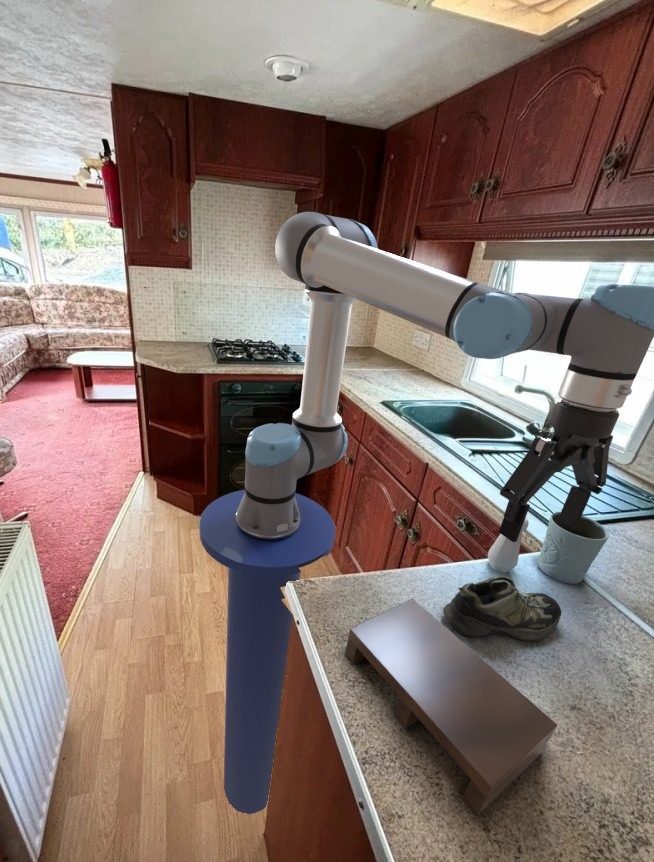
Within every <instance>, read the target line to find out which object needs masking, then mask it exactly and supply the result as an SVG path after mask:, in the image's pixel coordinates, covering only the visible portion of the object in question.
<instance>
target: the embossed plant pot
mask: <svg viewBox="0 0 654 862" xmlns="http://www.w3.org/2000/svg"><path fill="white" fill-rule="evenodd" d="M560 513H561V511H556V512H553V513H552V514H550V516H549V520H548V525H547V529H546V532H545V537H544V539H543V542H542V547H541V550H540V554H539V557H538V558H537V565H538V567H539V569H540V570H541V571H542V572H543V573H545V575H547V576H549V577H550V578H552V579H555V580H557V581H559V582H562V583H566V584H575V585H576V584H579V583H581V582H582V581H583V580H584V578H585V577H586V574H587V573H588V571H589V570H590V568H591V566H592V564H593V562H594V561H595V560H596V558H597V556H598V555H599V553H600V552H601V550H602V548H603V547H604V546H605V544H606V542H607V541H608V539H609V538H610V532H609V531H608V529H606V527H604V526H603V525H602V524H601V523H600V522H598V521H595V520H594V519H592V518H589V517H587V516H584V515H582V516H581V518H580V521H579V523H578V525H577V528H572V527H570V526H569V525H567V524H565V523H563V522H562V521H560V520H558V518H559V516H560Z"/></svg>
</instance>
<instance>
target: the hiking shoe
mask: <svg viewBox="0 0 654 862" xmlns="http://www.w3.org/2000/svg"><path fill="white" fill-rule="evenodd" d="M457 589H458V590H459V592H458V593H456V594H455V596H454V597H453V598H452V599H451V600H450V602H449V603H447V604H445V606H444V607H443V608H442V611H443V616H444V619H445V621H446V622H447V624H448V625H449V627H451V628H452V629H453V630H455V632H457V633H459V634H460V635H463V636H466V637H470V638H474V637H484V636H487V635H490V634H495V633H500V634H503V635H504V634H505V635H507V636H510V637H513V638H514V639H517V640H520V641H523V642H529V641H532V642H537V641H539V640H541V639H545V638H546V637H548V636H549V635H550V634H552V633H553V632H554V631H555V629H556V628H557V627H558V624H559V622H560V619H561V616H562V609H561V606H560V604H559V603H558V601H556V599H554V598H553V597H551V596H550V595H548V594H547V593H546V594H545V593H543V592H520V590H519V589H518V588H517V587H516V584H515V582H514V580H513V579H512V578H510V577H508V576H504V575H501V576H494V577H489V578H486V579H484V580H481V581H478V582H475V583H473V582H467V583H465V584H464V585H462V587H457Z"/></svg>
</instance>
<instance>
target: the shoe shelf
mask: <svg viewBox="0 0 654 862" xmlns="http://www.w3.org/2000/svg"><path fill="white" fill-rule="evenodd" d="M344 657H346V659H347V660H348V661H349V662H350V664H351V665H352V666H354V665H356V664H358V663H360V662H362V661H363V660H365V659H366V660H367V662H369V664H371V666H372V667H374V669H375V671H376V672H377V673H378V674H379V675H380V676H381V677H382V678H383V680H384V681H385V682H386V683H387V685H389V686H390V688H391V689H392V690H393V691H394V692H395V693H396V694H397V695H398V697H399V701H398V705H397V706H396V707H397V708H396V711H395V714H394V717H395V719H396V720H397V721H398V722H399V723H400V725H401V726H402V727H403V728H404V730H405V729H406V730H407V729H408V728H409V727H410V726H412V725H413V724H415V723H416V722H418V721H420V722H421V724H423V725H424V726H425V728H426V729H427V730H428V732H429V733H430V734H432V736H433V738H434V739H436V741H437V742H438V743H439V744H440V746H441V747H443V749H444V750H445V751H446V752H447V754H448V755H449V756H450V757H451V758H452V759H453V760H454V761H455V763H456V765H458V766H459V767H460V769H461V770H462V771H463V772H464V773H465V774H466V775H467V776H468V778H469V779H470V781H469V783H468V785H467V787H466V789H465V791H464V794H463V796H462V800H463V801H464V803H465V804H466V806H468V808H469V809H470V810H471V811H472V813H473V814H474V815H475V816H476V817H478V816H479V815H480V814H481V813H482V812H483V811H484V810H485V809H486V808H487V807H488V806H490V804H492V802H493V801H495V799H496V798H498V796H499V795H501V793H502V792H504V791H505V790H506V789H507V788H508V787H509V786H510V785H511V783H513V782H514V781H515V780H516V779H517V778H518V777H519V776H521V774H522V773H523V772H524V771H525V770H526V769H527V768H528V767H530V765H531V764H532V763H533V762H534V761H535V760H536V759H537V758H538V757H539V756H540V755H541V754H542V753H543V751H544V750H545V748H546V746H547V744H548V743H549V741H550V739H551V737H552V736H553V734H554V732H555V730H556V728H557V727H558V724H557V723H556V722H555V721H554V720H553V719H552V718H550V717H549V716H548V715H547V714H546V713H544V711H542V710H541V709H540V708H539V707H538V706H537V705H535V704H534V702H532V701H531V700H530V699H528V697H527V696H525V694H523V693H522V692H521V691H519V690H518V688H516V687H515V686H514V685H513V684H511V683H510V682H509V681H508V680H507V679H506V678H504V677H503V676H502V674H500V673H499V672H498V671H496V669H495V668H493V667H492V666H491V665H490V664H489V663H487V662H486V660H484V659H483V658H481V656H479V655H478V654H477V653H476V652H475V651H473V650H472V649H471V648H470V647H469V646H468V645H467V644H466V643H465V642H463V641H462V640H461V639H460V638H459V637H457V635H456V634H454V633H453V632H452V631H451V630H449V628H448V627H446V626H445V625H443V623H442V622H440V620H438V619H437V618H436V617H435V616H433V615H432V614H431V613H430V612H429V611H428V610H427V609H425V608H424V607H423V606H422V605H421V604H420V603H419V602H417V601H416V600H415V599H414V598H410V599H409V600H407V601H405V602H402V603H400V604H398V605H396V606H394V607H392V608H390V609H388V610H385V611H384V612H381V613H379V614H378V615H375V616H373V617H371V618H370V619H366V621H363V622H361V623H359V624H357V625H355V626H352V627H351V628H349V632H348V638H347V643H346V648H345V653H344Z"/></svg>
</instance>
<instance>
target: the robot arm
mask: <svg viewBox="0 0 654 862" xmlns="http://www.w3.org/2000/svg"><path fill="white" fill-rule="evenodd" d="M274 252H275V258H276V261H277V265H278V266H279V268H280V269H281V271H282V272H283V273H284V275H286V276H287V277H288V278H289V279H291V280H293V281H296V282H299V283H302V284H304V287H305V288H304V292H305V293H306V295H307V296H308V298H309V299H310V308H309V316H308V318H309V319H308V329H307V335H306V336H307V337H306V346H305V355H304V366H303V376H302V386H301V395H300V405H299V408H298V409H296V410H295V411H294V412H293V413H292V419H291V424H289V423H285V422H277V423H273V422H272V423H266V424H263V425H260V426H257V427H256V428H254V429H253V430H252V431H250V433H249V434H248V437H247V440H246V447H245V451H244V453H245V473H244V474H245V475H244V476H245V477H244V490H245V493H244V495H243V498H242V500H241V503H240V505H239V507H238V510H237V513H236V525H237V528H238V529H239V530H240V531H241V532H242V533H243V534H244V535H246V536H248V537H250V538H253V539H256V540H260V541H280V540H284V539H287V538H289V537H291V536H293V535H294V534H295V533H296V532H297V531H298V530H299V527H300V513H299V509H298V505H297V502H296V498H295V493H296V489H297V480H299V479H300V478H303V477H305V476H308V475H310V474H313V473H315V472H319V471H320V470H323V469H327V468H330V467H331V466H333V465H334V464H336V463H338V462H339V461H340V460H341V459H342V458H343V457H344V455H345V454H346V452H347V449H348V446H349V445H348V444H349V437H348V433H347V432H346V431H345V430H346V428H345V426H344V425H343V419H342V416H340V414H339V413H338V406H339V405H338V404H339V397H340V390H341V384H342V377H343V370H344V364H345V363H344V362H345V358H346V357H345V354H346V348H347V342H348V334H349V328H350V320H351V314H352V307H353V304H354V303H355V302H356V300H358V301H360V302H362V303H365V304H367V305H369V306H372V307H374V308H376V309H379V310H381V311H384V312H386V313H388V314H391V315H393V316H395V317H397V318H400V319H402V320H405V321H407V322H410V323H412V324H414V325H416V326H418V327H421V328H424V329H425V330H428V331H430V332H433V333H435V334H438V335H440V336H442V337H445V338H446V339H450V340H452V342H455V343H456V344H457V346H458V348H459V349H460V350H461V351H462V352H463V353H464V354H466V355H467V356H470V357H472V358H476V359H485V360H495V359H501V358H504V357H508V356H509V355H514V354H517V353H522V352H525V351H536V352H542V353H548V354H549V353H551V354H558V355H561V356H569V357H570V361H569V363H568V365H567V369H566V371H565V374H564V377H563V380H562V382H561V384H560V387H559V390H558V393H557V395H558V397H559V398H560V399H558V400H556V401H555V402H554V405H553V408H552V410H551V414H550V416H549V418H548V423H549V426H551V427H552V429H553V433H552V435H551V436H550V437H549V438H544V437H542V436H539V435H537V436H535V437H534V438H533V440H532V442H531V445H530V447H529V449H528V451H527V453H526V454H525V455H524V457H523V458H522V460H521V461H520V463H519V464H518V466H517V467H516V469H514V471H513V472H512V474H511V475H510V477H508V480H507V481H506V483H505V484H504V485H503V487H502V488H501V490H500V491H499V495H500V496H502V497H503V498H505V499H506V500H508V502H507V505H506V508H505V510H504V514H503V518H502V521H501V523H500V527H499V530H498V533H499V535H500V534H502V535H503V536H505V537H506V538H508V539H509V540H510V541H512V542H517V539H518V537H519V534H520V531H521V529H522V526H523V523H524V520H525V518H527V514H528V512H529V509H530V507H531V504H529V503H528V502H529V501H530V500H531V499H532V498H533V497H534V496H535V495H536V494H537V493H538V492H539V490H541V488H543V486H544V485H545V484H546V483H547V482H548V481H549V480H550V479H551V478H552V477H553V476H554V475H556V474H557V473H561V472H562V471H563V470H564V469H565V468H569V467H570V466H571V467H572V472H573V475H574V479H575V483H576V485H571V487H570V489H569V492H568V493H567V496H566V499H565V502H564V504H563V505H562V508H561V511H560V512H561V513H560V516H559V518H558V520H560V521H562V522H563V523H565V524H567V525H569V526H570V527H572V528H577V525H578V523H579V521H580V518H581V516H583V514H584V511H585V510H586V507H587V505H588V502H589V501H590V498H591V496H592V493H593V494H596V495H599V494H601V493H602V491H603V487H604V486H606V484H607V476H608V466H609V455H610V454H609V453H610V447H611V446H612V445H611V444H612V442H613V440H614V439H613V438H614V436H613V435H612V434H613V431H614V430H615V429H614V428H615V427H616V424H617V421H618V419H619V417H620V413H619V411H618V409H621V408H623V407H624V404H625V402H626V400H627V398H628V396H630V395H631V394H632V392H633V389H631V388H632V385H633V384H634V381H635V379H636V377H637V375H638V372H639V370H640V368H641V366H642V363H643V361H644V359H645V357H646V355H647V352H648V351H649V349H650V346H651V344H652V341H653V339H654V285H653V286H650V285H638V284H637V285H636V284H634V285H633V284H618V283H617V284H616V283H615V284H614V283H602V284H600V285H598V286H597V287H596V289H595V290H594V292H593V294H591V297H590V298H589V297H587V298H586V297H585V298H580V297H578V298H573V297H564V296H556V295H555V296H554V295H544V294H534V293H533V294H532V293H527V292H514V293H513V292H508V291H504V290H502V289H499V288H496V287H493V286H490V285H486V284H483V283H479V282H476V281H473V280H470V279H467V278H464V277H462V276H459V275H456V274H452V273H449V272H446V271H443V270H440V269H438V268H435V267H432V266H428V265H425V264H423V263H420V262H417V261H414V260H411V259H408V258H405V257H402V256H399V255H396V254H393V253H390V252H386V251H384V250H381V249H379V248H378V243H377V240H376V237H375V235H374V234H373V232H372V231H371V230H370V229H369V227H368V226H366V225H365V224H362V223H361V222H358V221H356V220H354V219H352V218H350V219H349V218H345V217H339V216H333V215H328V214H322V213H320V212H315V211H303V212H300V213H297V214H295V215H292V216H291V217H289V218H288V219H286V221H285V222H284V223H283V224H282V226H281V227H280V229H279V231H278V233H277V236H276V239H275V246H274Z"/></svg>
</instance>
